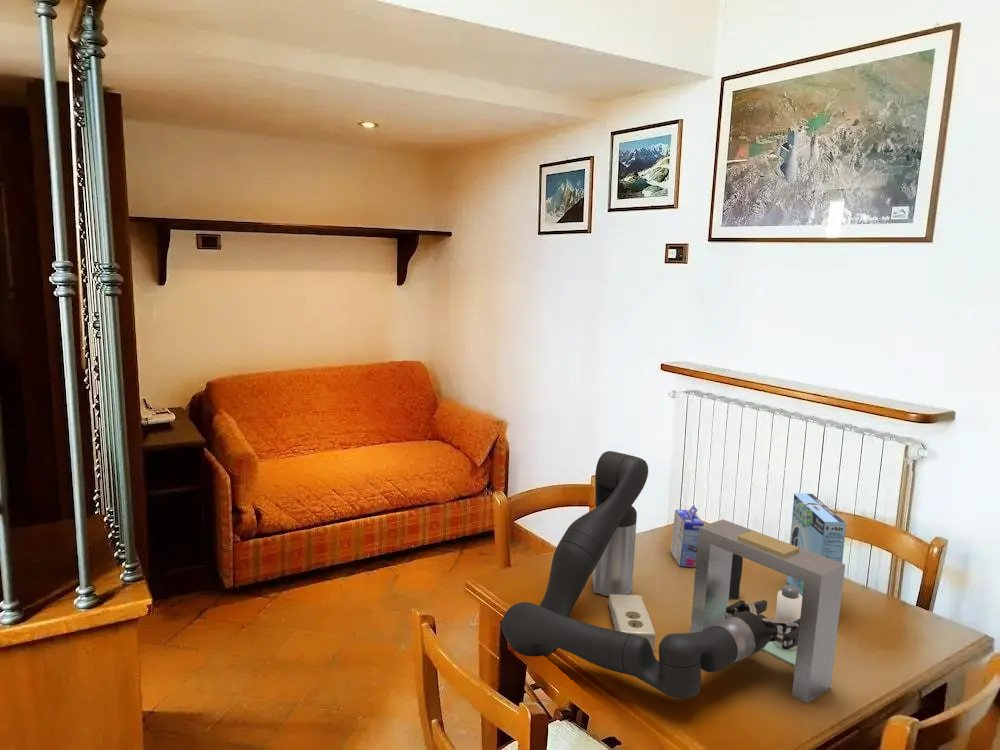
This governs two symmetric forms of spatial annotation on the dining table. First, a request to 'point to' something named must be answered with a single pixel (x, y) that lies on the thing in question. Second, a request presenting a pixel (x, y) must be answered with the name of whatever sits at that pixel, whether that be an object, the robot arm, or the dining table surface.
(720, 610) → the arch
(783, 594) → the bottle
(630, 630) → the electrical outlet
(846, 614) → the dining table surface
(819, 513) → the gum box
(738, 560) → the black rounded block
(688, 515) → the ink cartridge box
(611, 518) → the robot arm
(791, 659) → the mat
